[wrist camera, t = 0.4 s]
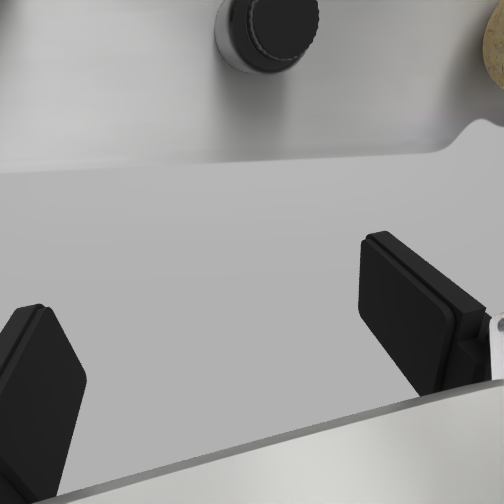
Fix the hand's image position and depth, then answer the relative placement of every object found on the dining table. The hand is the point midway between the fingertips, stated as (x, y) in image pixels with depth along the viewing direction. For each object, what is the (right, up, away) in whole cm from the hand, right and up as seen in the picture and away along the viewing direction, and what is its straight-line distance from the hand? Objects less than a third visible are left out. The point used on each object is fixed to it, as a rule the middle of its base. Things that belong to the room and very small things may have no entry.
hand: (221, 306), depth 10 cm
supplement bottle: (+1, +23, +23) cm, 32 cm away
